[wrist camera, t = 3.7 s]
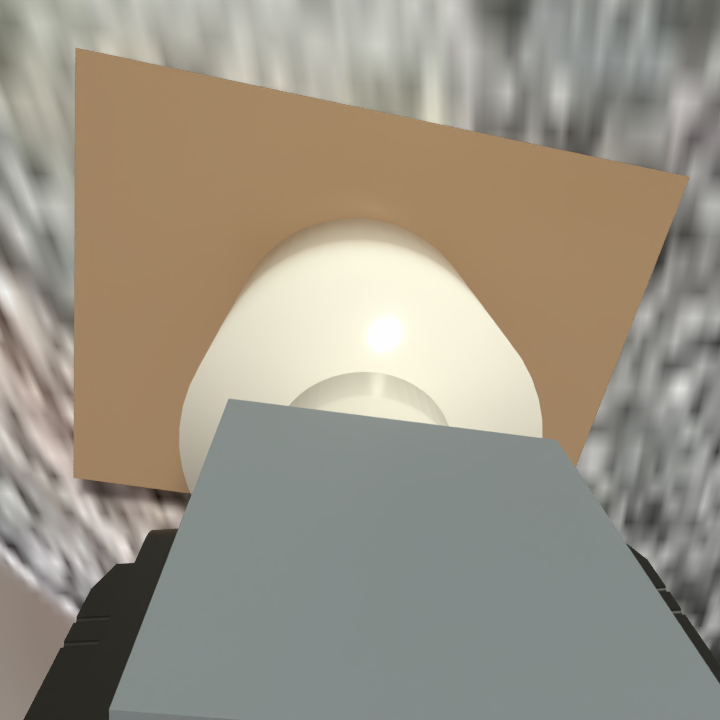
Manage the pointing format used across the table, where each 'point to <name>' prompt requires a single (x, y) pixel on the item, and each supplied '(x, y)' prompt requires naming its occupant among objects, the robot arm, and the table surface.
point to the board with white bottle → (335, 269)
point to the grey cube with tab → (402, 585)
